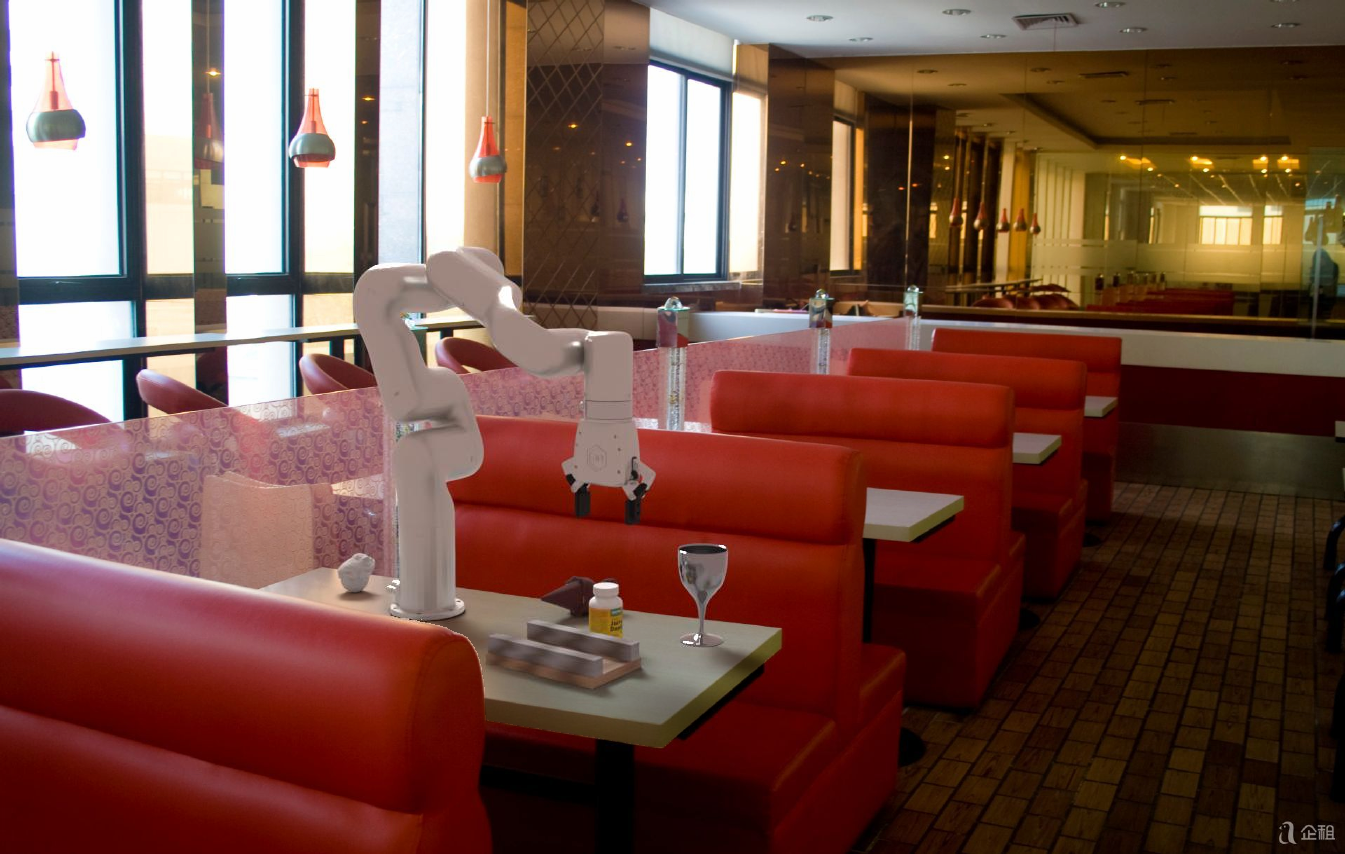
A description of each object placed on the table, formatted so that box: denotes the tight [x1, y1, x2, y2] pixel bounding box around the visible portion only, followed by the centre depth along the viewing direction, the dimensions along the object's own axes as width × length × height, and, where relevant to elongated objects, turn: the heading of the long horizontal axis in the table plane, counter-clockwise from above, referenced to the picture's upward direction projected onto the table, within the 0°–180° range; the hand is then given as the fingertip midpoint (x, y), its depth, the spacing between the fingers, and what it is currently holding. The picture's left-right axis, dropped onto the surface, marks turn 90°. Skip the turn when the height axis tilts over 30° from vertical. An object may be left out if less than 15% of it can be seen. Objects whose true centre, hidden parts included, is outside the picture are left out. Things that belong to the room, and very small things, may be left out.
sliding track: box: [485, 619, 642, 690], centre depth 179 cm, size 20×12×4 cm, turn 57°
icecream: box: [540, 575, 618, 618], centre depth 206 cm, size 7×7×15 cm
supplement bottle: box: [588, 582, 624, 638], centre depth 189 cm, size 5×5×10 cm
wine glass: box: [677, 542, 729, 648], centre depth 192 cm, size 8×8×15 cm
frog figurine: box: [337, 552, 376, 593], centre depth 219 cm, size 6×7×7 cm
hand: (607, 520), depth 187 cm, fingers open, 9 cm apart
